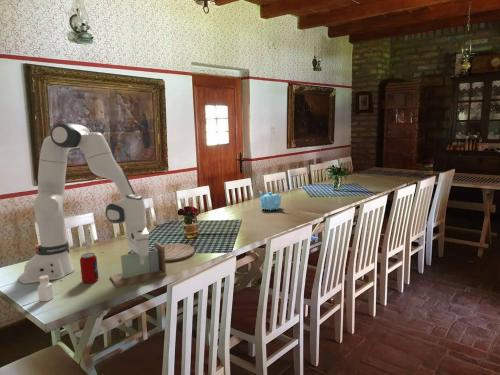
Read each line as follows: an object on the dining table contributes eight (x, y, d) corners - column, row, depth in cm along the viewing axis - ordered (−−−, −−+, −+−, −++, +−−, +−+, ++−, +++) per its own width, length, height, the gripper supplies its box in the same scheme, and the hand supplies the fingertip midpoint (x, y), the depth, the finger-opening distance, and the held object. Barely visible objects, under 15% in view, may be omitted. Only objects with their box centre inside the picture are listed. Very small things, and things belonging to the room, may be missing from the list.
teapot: (259, 207, 302) (259, 190, 300) (283, 207, 300) (283, 190, 298) (257, 212, 287) (256, 194, 284) (283, 212, 284) (282, 194, 282)
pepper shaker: (47, 302, 147) (44, 279, 145) (38, 301, 148) (35, 278, 146) (54, 297, 151) (51, 275, 149) (45, 296, 151) (42, 274, 150)
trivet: (201, 248, 207) (201, 245, 207) (181, 265, 183) (181, 261, 183) (161, 245, 214) (160, 242, 214) (136, 261, 190) (136, 257, 190)
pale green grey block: (124, 279, 164) (122, 257, 163) (122, 276, 168) (120, 255, 166) (159, 271, 173) (157, 250, 171) (156, 268, 176) (154, 248, 174)
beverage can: (101, 280, 166) (99, 254, 164) (86, 285, 162) (83, 258, 159) (94, 276, 171) (91, 251, 169) (79, 281, 166) (76, 255, 164)
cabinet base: (117, 287, 159) (114, 257, 157) (110, 277, 169) (107, 250, 167) (166, 275, 171) (165, 247, 168) (157, 266, 181) (156, 240, 178)
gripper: (122, 227, 173) (125, 255, 176) (135, 237, 156) (138, 269, 159) (136, 224, 177) (138, 252, 179) (150, 235, 160) (152, 266, 162)
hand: (138, 260), depth 169 cm, fingers open, 8 cm apart
